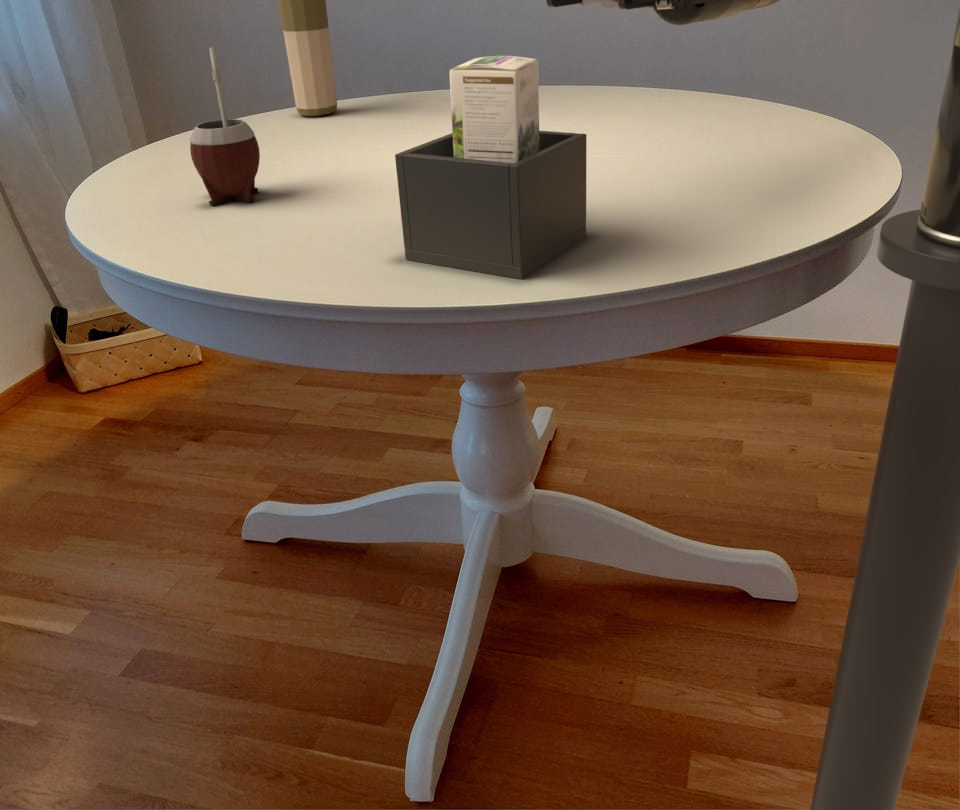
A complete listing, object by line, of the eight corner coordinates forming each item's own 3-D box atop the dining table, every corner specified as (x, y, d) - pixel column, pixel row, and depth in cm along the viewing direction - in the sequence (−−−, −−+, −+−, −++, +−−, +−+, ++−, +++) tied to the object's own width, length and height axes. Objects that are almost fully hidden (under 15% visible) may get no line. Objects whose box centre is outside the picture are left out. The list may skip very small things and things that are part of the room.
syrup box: (480, 226, 80) (470, 55, 73) (543, 229, 78) (539, 54, 71) (457, 246, 75) (444, 66, 68) (523, 250, 73) (517, 66, 66)
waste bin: (586, 236, 79) (586, 133, 74) (521, 279, 70) (517, 166, 66) (477, 221, 84) (471, 125, 80) (405, 259, 76) (394, 154, 72)
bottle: (324, 108, 143) (295, -105, 129) (349, 112, 138) (321, -108, 124) (286, 115, 139) (252, -104, 125) (311, 120, 134) (278, -107, 120)
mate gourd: (228, 211, 92) (197, 59, 85) (184, 201, 97) (151, 56, 90) (283, 193, 97) (258, 49, 90) (238, 185, 102) (212, 46, 95)
